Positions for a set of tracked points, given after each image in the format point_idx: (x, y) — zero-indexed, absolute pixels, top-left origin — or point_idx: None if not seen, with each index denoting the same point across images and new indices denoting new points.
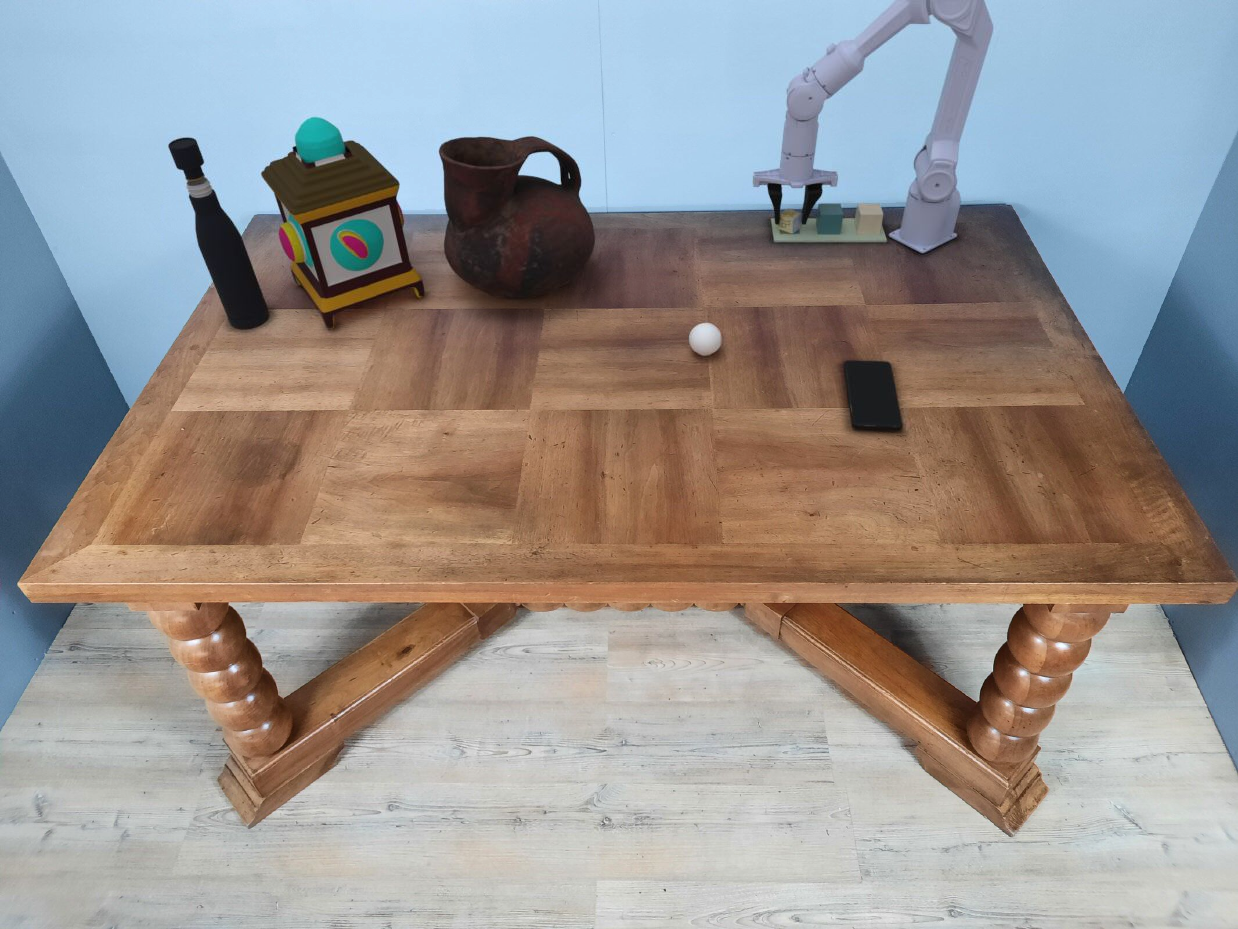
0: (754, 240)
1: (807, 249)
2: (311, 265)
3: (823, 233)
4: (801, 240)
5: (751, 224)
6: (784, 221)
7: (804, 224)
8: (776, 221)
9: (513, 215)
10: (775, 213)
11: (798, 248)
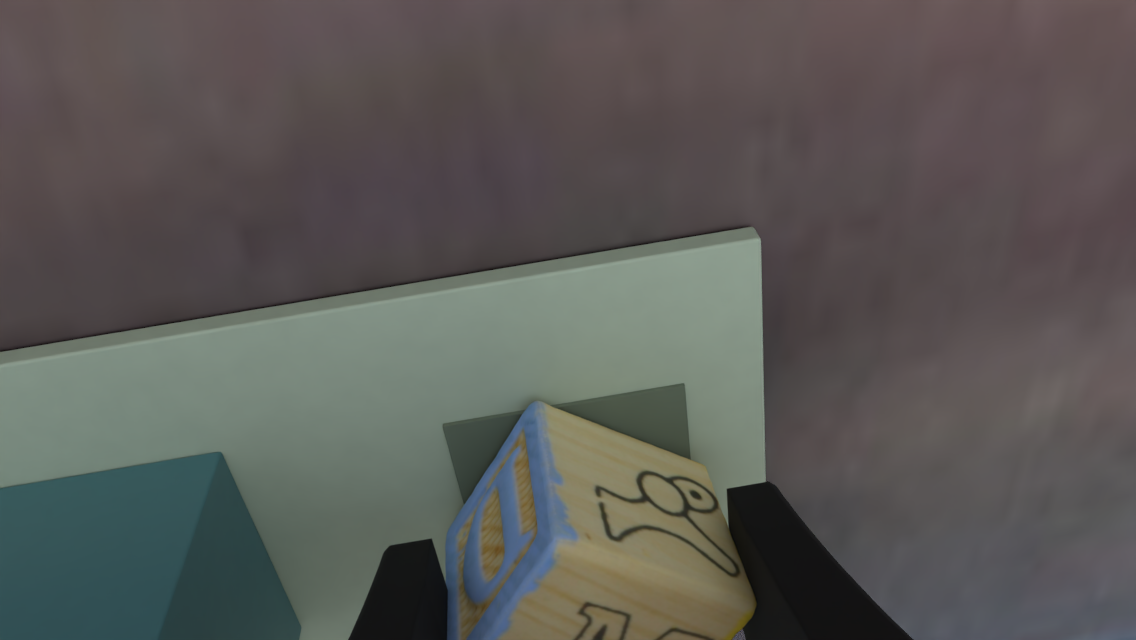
0: (992, 227)
1: (290, 126)
2: None
3: (150, 469)
4: (403, 294)
5: (964, 513)
6: (671, 529)
7: (401, 543)
8: (782, 507)
9: None
10: (860, 593)
11: (421, 132)
